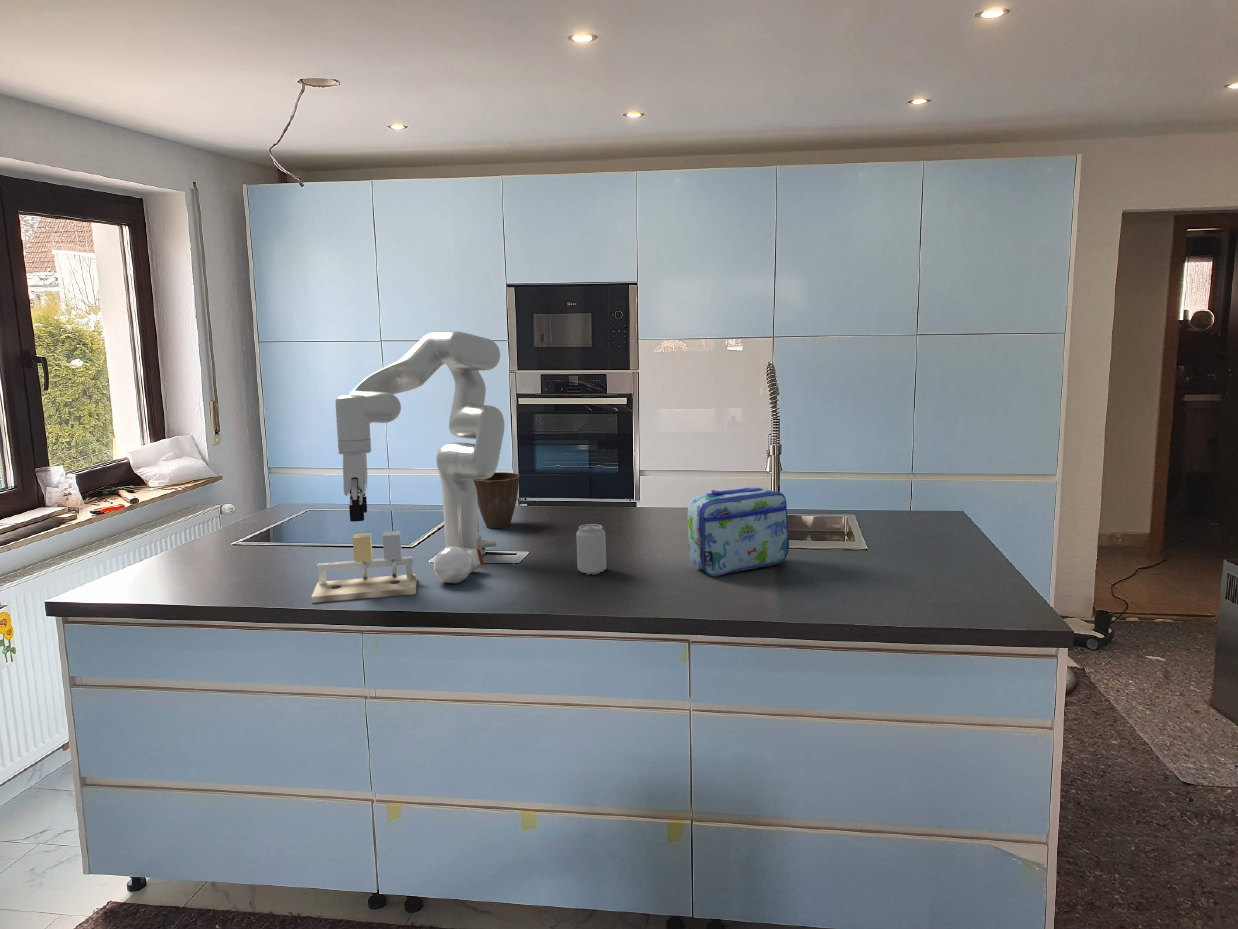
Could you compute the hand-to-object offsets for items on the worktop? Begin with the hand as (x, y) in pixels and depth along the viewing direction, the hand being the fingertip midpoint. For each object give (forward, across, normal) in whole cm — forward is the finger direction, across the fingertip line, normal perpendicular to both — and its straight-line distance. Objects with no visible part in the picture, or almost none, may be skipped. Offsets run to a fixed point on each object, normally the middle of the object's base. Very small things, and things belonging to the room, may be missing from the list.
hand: (358, 516), depth 212 cm
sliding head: (+16, -2, +1) cm, 16 cm away
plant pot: (+18, -58, +37) cm, 71 cm away
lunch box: (+18, +7, +94) cm, 96 cm away
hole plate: (+19, -1, +1) cm, 19 cm away
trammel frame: (+17, -2, +1) cm, 17 cm away
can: (+18, -1, +57) cm, 60 cm away
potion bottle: (+19, -4, +23) cm, 30 cm away
